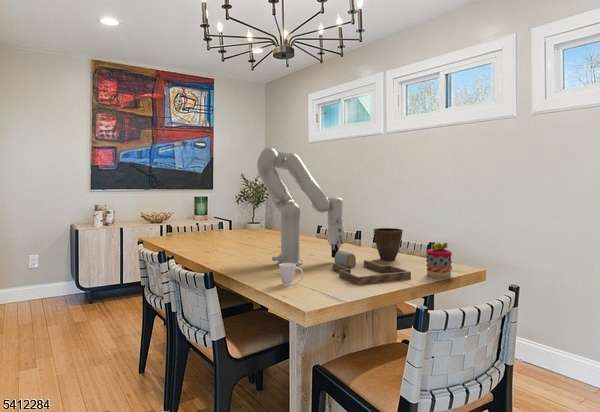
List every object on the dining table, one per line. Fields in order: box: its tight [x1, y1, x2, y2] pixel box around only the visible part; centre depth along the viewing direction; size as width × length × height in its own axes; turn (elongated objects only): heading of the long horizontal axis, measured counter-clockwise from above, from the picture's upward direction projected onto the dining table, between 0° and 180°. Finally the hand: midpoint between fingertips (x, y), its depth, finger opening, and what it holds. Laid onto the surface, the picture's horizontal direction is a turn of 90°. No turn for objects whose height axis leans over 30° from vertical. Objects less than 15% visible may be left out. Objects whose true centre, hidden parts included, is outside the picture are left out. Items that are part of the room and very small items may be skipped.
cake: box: [425, 241, 453, 279], centre depth 172 cm, size 10×11×15 cm
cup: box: [278, 263, 304, 287], centre depth 157 cm, size 7×10×8 cm
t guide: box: [332, 260, 412, 286], centre depth 174 cm, size 26×29×3 cm
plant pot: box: [373, 227, 403, 262], centre depth 208 cm, size 15×15×16 cm
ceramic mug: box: [333, 249, 357, 269], centre depth 192 cm, size 11×8×8 cm
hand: (335, 257), depth 201 cm, fingers closed
